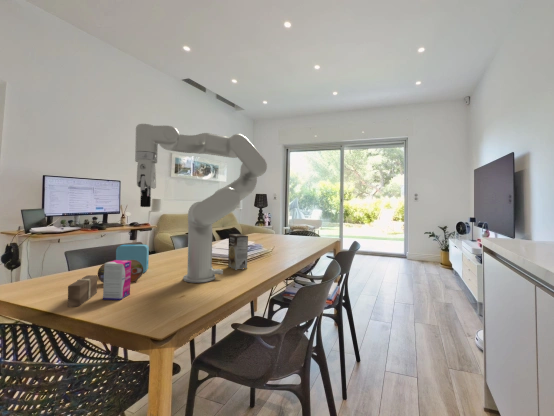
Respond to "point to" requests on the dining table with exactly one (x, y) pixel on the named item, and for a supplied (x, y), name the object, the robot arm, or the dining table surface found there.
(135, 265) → the tin
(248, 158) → the robot arm
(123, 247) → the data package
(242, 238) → the coffee box
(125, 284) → the supplement box
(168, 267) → the dining table surface
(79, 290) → the brown rectangular block
